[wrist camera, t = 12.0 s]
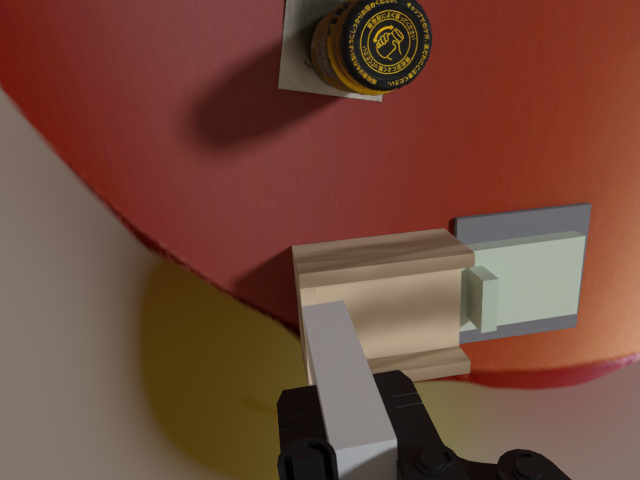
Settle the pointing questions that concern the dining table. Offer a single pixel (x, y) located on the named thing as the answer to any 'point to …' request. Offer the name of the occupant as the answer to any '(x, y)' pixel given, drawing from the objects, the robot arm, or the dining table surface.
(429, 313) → the oak box
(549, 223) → the rubber mat
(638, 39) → the dining table surface
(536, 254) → the lid plate
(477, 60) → the dining table surface
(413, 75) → the condiment
